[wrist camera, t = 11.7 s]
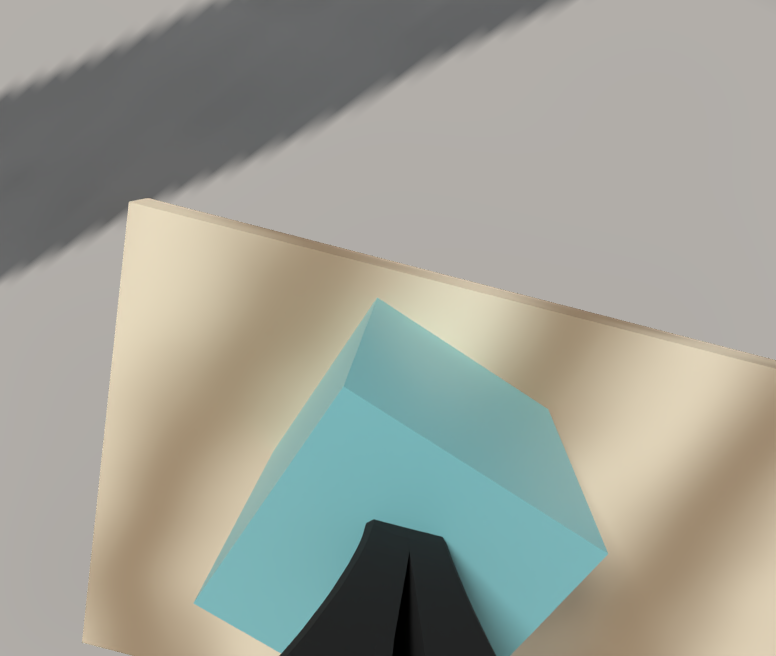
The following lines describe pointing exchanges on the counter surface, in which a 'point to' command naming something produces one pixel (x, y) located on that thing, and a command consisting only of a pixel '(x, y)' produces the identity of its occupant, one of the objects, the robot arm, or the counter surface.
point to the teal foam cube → (409, 490)
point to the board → (483, 345)
